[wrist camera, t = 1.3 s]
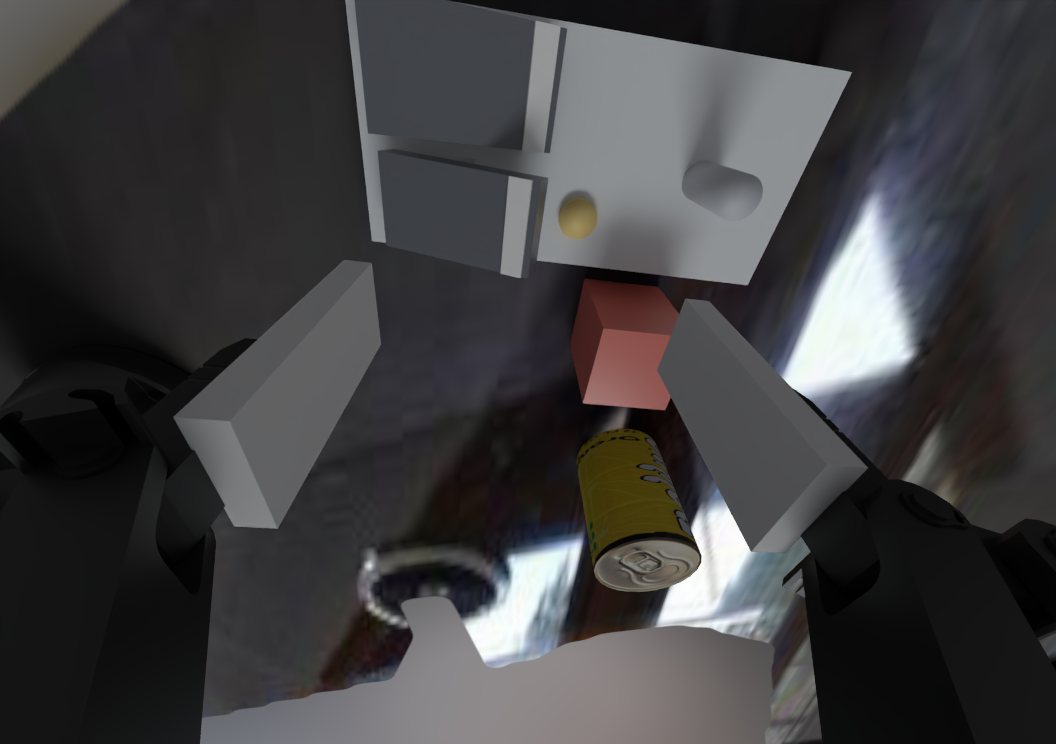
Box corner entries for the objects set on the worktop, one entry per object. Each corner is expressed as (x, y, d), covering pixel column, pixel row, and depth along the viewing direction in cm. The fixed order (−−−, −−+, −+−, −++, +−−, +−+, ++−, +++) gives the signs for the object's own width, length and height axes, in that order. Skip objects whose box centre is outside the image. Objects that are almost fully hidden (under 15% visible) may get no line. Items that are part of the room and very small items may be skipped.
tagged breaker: (400, 238, 24) (384, 246, 23) (394, 148, 21) (375, 150, 20) (535, 270, 23) (527, 279, 21) (548, 178, 20) (539, 182, 18)
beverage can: (614, 493, 46) (641, 600, 36) (559, 462, 42) (572, 572, 32) (675, 453, 42) (723, 561, 32) (619, 415, 38) (654, 523, 28)
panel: (385, 228, 27) (343, 268, 20) (364, -4, 20) (291, -54, 14) (728, 269, 29) (788, 317, 23) (815, 75, 22) (936, 64, 16)
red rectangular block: (570, 343, 33) (582, 403, 26) (584, 278, 30) (603, 328, 23) (636, 350, 34) (665, 410, 27) (658, 286, 30) (697, 338, 24)
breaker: (367, 129, 18) (368, 133, 17) (352, -15, 15) (352, -23, 14) (539, 148, 21) (551, 153, 20) (554, 31, 18) (568, 28, 17)
